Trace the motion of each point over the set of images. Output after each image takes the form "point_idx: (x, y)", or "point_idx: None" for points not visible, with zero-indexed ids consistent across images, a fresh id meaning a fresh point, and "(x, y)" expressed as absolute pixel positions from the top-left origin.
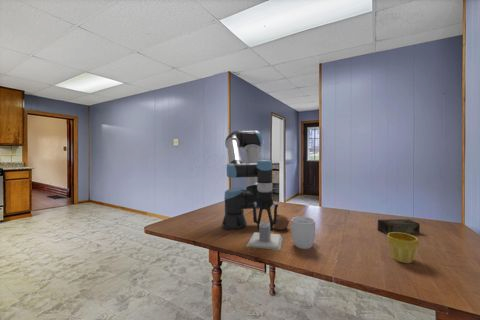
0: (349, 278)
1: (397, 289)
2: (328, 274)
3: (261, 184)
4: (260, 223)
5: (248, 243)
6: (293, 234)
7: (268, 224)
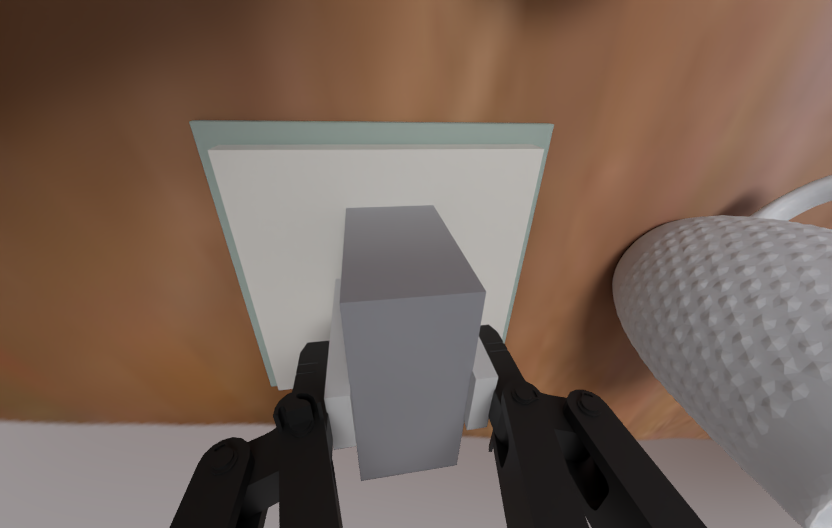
0: (691, 432)
1: None
2: (641, 436)
3: None
4: (337, 417)
5: (264, 347)
6: (663, 384)
7: (459, 380)
